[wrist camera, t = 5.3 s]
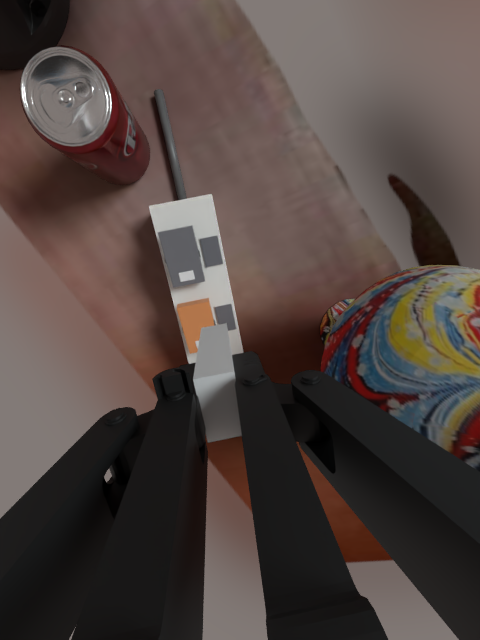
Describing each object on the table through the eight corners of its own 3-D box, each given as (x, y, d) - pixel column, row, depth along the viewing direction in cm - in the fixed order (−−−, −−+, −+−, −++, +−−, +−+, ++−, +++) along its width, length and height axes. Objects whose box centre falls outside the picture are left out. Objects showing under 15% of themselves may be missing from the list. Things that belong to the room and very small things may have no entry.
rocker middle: (176, 304, 32) (175, 308, 31) (209, 297, 32) (209, 301, 31) (189, 348, 35) (189, 354, 33) (220, 342, 35) (220, 347, 34)
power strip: (128, 99, 32) (114, 74, 27) (189, 88, 32) (185, 62, 28) (205, 410, 41) (204, 429, 37) (252, 400, 42) (256, 418, 37)
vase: (432, 280, 40) (1033, 357, 10) (383, 400, 43) (724, 699, 14) (307, 243, 37) (642, 208, 8) (267, 373, 41) (392, 673, 12)
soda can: (107, 196, 34) (50, 166, 22) (74, 133, 32) (-7, 65, 20) (162, 171, 34) (133, 127, 22) (132, 106, 32) (84, 22, 20)
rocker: (158, 231, 30) (156, 232, 29) (193, 224, 30) (193, 225, 29) (173, 285, 32) (172, 288, 31) (205, 278, 33) (205, 281, 31)
